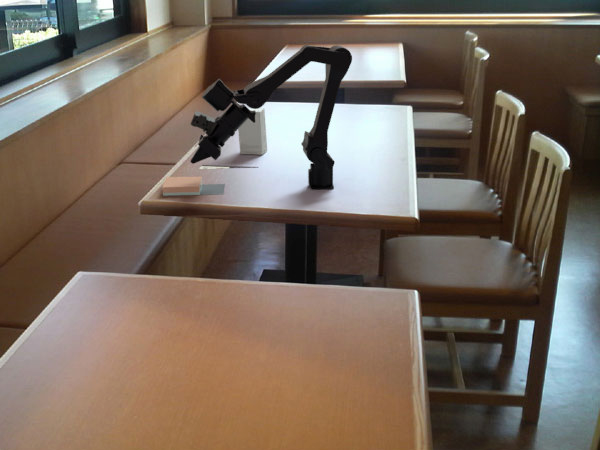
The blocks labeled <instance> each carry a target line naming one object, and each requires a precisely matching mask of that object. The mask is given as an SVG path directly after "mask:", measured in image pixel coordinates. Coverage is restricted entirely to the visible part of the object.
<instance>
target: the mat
mask: <svg viewBox="0 0 600 450" xmlns="http://www.w3.org/2000/svg"><path fill="white" fill-rule="evenodd" d="M225 187H226V183H213V184H212V183H211V184H210V183H206V184H203V183H202V187H201V191H200V195H199V196H206V195H207V196H208V195H209V196H211V195H213V196H214V195H224V193H225V189H226V188H225ZM173 196H177V195H173Z"/></svg>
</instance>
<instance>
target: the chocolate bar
mask: <svg viewBox="0 0 600 450" xmlns="http://www.w3.org/2000/svg"><path fill="white" fill-rule="evenodd" d="M256 168H259V166H242V165H241V166H238V165H215V164H214V165H213V164H212V165H211V164H210V165H209V164H202V165H201V166H200V167H199V169H198V170H209V169H210V170H216V169H218V170H219V169H220V170H221V169H256Z"/></svg>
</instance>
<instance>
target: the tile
mask: <svg viewBox="0 0 600 450" xmlns="http://www.w3.org/2000/svg"><path fill="white" fill-rule="evenodd" d="M202 184H203V177H202V176H169V177H165V179H164V182H163V185H162V188H161V189H162V196H167V197H168V196H174V195H176V196H201V195H200V191H201V187H202Z"/></svg>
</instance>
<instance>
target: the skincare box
mask: <svg viewBox="0 0 600 450" xmlns="http://www.w3.org/2000/svg"><path fill="white" fill-rule="evenodd" d="M247 108H248V109H249V110H250V111H256V115H255V123H253V122H252V121H251V120H250V119H249V118H248V119H247V120H246V121H245V122H244V123H243V124H242V125H241V126H240V127H239V129H238V130H237V131H238V132H237V133H238V141H239V154H240V155H255V156H256V155H260V156H261V155H264V154H265V153H267V151H268V140H267V129H266V127H267V125H266V124H267V123H266V114H265V107H260V108H258V109H252V108H250V107H247Z"/></svg>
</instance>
